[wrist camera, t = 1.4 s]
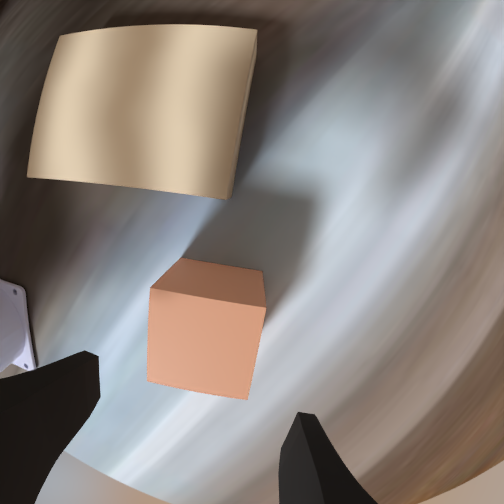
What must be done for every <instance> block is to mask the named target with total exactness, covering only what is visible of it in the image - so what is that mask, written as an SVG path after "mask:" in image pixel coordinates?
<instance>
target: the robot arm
mask: <svg viewBox="0 0 504 504" xmlns="http://www.w3.org/2000/svg"><path fill="white" fill-rule="evenodd" d="M16 291H17V292H16ZM11 363H13V364H15V365H17V366H19V367H21V368H23V369H25V370H28V372H25V373H21V374H18V375H15V376H11V377H7V378H2V379H0V504H34V503H35V501H36V499H37V496H38V494H39V492H40V490H41V488H42V486H43V484H44V482H45V480H46V478H47V476H48V474H49V472H50V471H51V468H52V467H53V465H54V464H55V462H56V460H57V459H58V457H59V456H60V454H61V453H62V452H63V450H64V449H65V448H66V447H67V445H68V444H69V443H70V441H71V440H72V439H73V438H74V436H75V435H76V434H77V432H78V431H79V430H80V429H81V427H82V426H83V425H84V423H85V422H86V421H87V419H88V418H89V417H90V415H91V413H92V411H93V410H94V408H95V406H96V404H97V402H98V401H99V399H100V381H99V356H97V355H94V354H92V353H90V352H87V351H82V352H79V353H76V354H74V355H71V356H69V357H66V358H64V359H61V360H59V361H56V362H53V363H51V364H48V365H45V366H43V367H40V368H37V369H36V364H35V359H34V354H33V348H32V342H31V336H30V329H29V321H28V313H27V303H26V293H25V290H24V288H23V287H21V286H19V285H16V284H13V283H10V282H7V281H4V280H1V279H0V372H1V371H3V370H4V369H5V368H6V367H7V366H9V365H10V364H11ZM279 504H378V503H377V502H376V501H375V500H374V499H373V498H372V497H371V496H370V495H369V494H368V493H367V492H366V491H365V490H364V489H363V488H362V486H361V485H360V484H359V483H358V482H357V480H356V479H355V478H354V476H353V475H352V474H351V472H350V471H349V470H348V468H347V467H346V466H345V464H344V463H343V461H342V460H341V458H340V456H339V455H338V453H337V452H336V450H335V449H334V447H333V445H332V444H331V442H330V440H329V439H328V437H327V435H326V433H325V432H324V430H323V428H322V426H321V424H320V423H319V421H318V419H317V417H316V416H315V414H308V413H302V412H298V413H297V415H296V417H295V419H294V422H293V424H292V426H291V428H290V430H289V433H288V435H287V437H286V439H285V441H284V443H283V445H282V447H281V453H280V462H279Z"/></svg>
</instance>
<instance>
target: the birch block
mask: <svg viewBox="0 0 504 504" xmlns="http://www.w3.org/2000/svg"><path fill="white" fill-rule="evenodd" d="M256 57H257V30H255V29H246V28H237V27H226V26H211V25H183V24H168V25H140V26H126V27H115V28H106V29H98V30H90V31H84V32H78V33H72V34H67V35H61V36H60V37H59V40H58V42H57V45H56V48H55V51H54V54H53V57H52V60H51V63H50V66H49V70H48V73H47V76H46V80H45V83H44V87H43V91H42V95H41V99H40V103H39V107H38V112H37V116H36V121H35V126H34V131H33V137H32V143H31V149H30V156H29V163H28V171H27V177H31V178H44V179H56V180H68V181H79V182H89V183H99V184H108V185H117V186H126V187H135V188H143V189H151V190H159V191H167V192H174V193H182V194H189V195H196V196H203V197H210V198H216V199H223V200H227V199H230V198H231V197H232V191H233V185H234V179H235V173H236V167H237V161H238V155H239V149H240V143H241V138H242V132H243V126H244V121H245V115H246V110H247V104H248V99H249V93H250V88H251V83H252V78H253V72H254V67H255V62H256Z"/></svg>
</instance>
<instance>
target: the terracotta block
mask: <svg viewBox="0 0 504 504" xmlns="http://www.w3.org/2000/svg"><path fill="white" fill-rule="evenodd" d="M265 313H266V299H265V290H264V281H263V272H262V271H258V270H252V269H246V268H240V267H234V266H228V265H222V264H216V263H210V262H204V261H198V260H192V259H186V258H180V259H179V260H178V261H177V262H176V263H175V264H174V265H173V266H172V267H171V268H170V269H169V270H168V271H167V272H165V273H164V274H163V275H162V276H161V277H160V278H159V279H158V280H157V281H156V282H155V283H154V284H153V285H152V286H151V287H150V298H149V317H148V347H147V381H148V382H153V383H157V384H161V385H166V386H170V387H175V388H179V389H184V390H189V391H195V392H200V393H206V394H211V395H217V396H224V397H230V398H237V399H244V400H248V395H249V390H250V386H251V381H252V376H253V372H254V367H255V362H256V357H257V352H258V347H259V342H260V338H261V333H262V328H263V323H264V318H265Z"/></svg>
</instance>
